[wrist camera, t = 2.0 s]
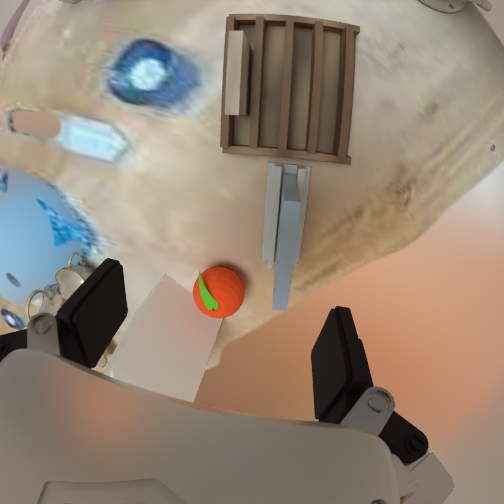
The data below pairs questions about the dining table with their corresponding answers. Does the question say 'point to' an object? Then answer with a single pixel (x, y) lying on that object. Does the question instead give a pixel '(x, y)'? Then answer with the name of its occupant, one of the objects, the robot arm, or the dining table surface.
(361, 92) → the dining table surface
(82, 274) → the chinaware
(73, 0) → the tea box
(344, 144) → the rack
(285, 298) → the grey upright panel
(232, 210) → the dining table surface
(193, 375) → the milk
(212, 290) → the clementine
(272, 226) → the stand
